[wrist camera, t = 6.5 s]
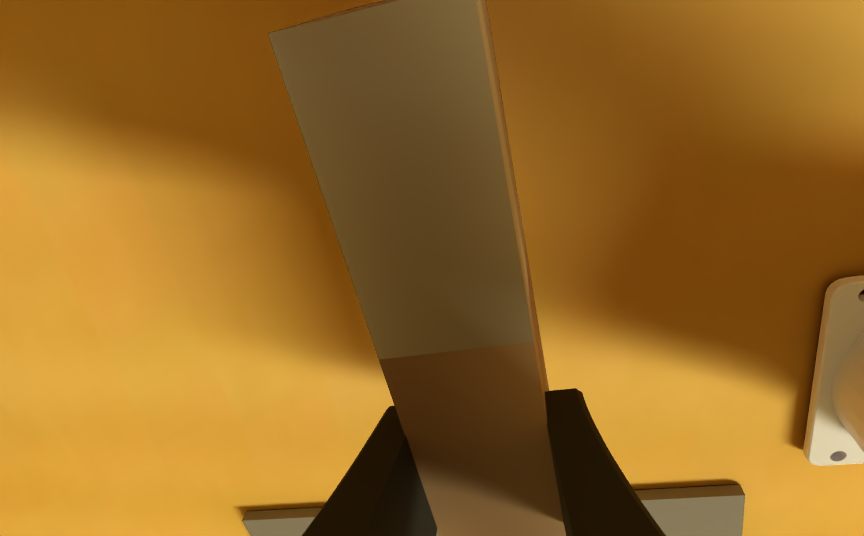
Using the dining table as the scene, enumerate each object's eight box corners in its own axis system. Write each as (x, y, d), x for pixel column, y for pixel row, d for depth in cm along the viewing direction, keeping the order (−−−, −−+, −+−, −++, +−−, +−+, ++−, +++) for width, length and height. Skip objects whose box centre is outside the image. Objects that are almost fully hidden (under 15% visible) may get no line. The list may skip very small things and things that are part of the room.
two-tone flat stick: (481, -26, 9) (472, -19, 6) (574, 545, 17) (594, 696, 13) (347, 9, 10) (267, 33, 6) (494, 548, 17) (493, 695, 14)
